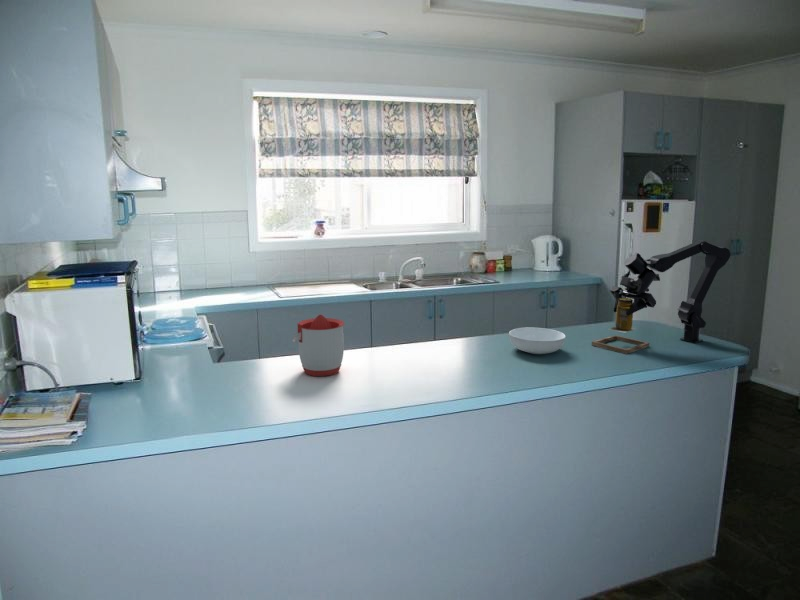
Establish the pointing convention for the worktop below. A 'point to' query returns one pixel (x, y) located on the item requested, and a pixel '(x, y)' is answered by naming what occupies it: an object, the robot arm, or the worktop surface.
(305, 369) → the citrus juicer
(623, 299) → the condiment
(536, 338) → the serving bowl
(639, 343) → the walnut frame
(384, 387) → the worktop surface
